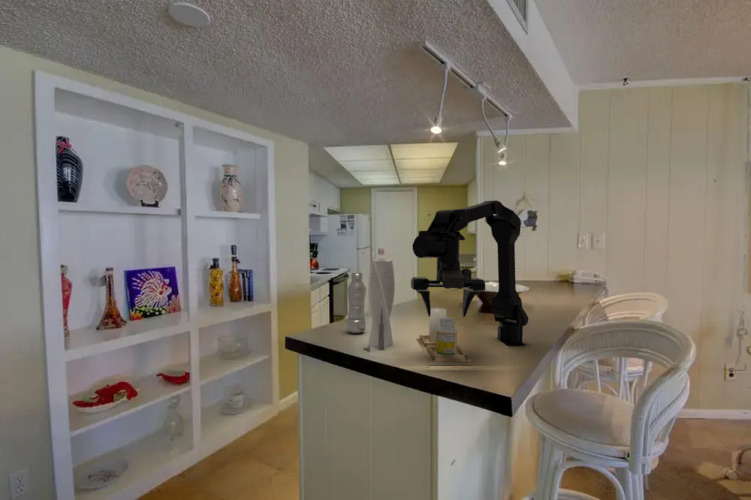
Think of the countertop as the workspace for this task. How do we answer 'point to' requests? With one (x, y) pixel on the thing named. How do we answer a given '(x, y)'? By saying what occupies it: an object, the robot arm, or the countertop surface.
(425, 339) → the caddy
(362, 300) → the plastic bottle
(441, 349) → the supplement bottle
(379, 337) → the skyscraper
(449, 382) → the countertop surface
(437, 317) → the white rounded rod
